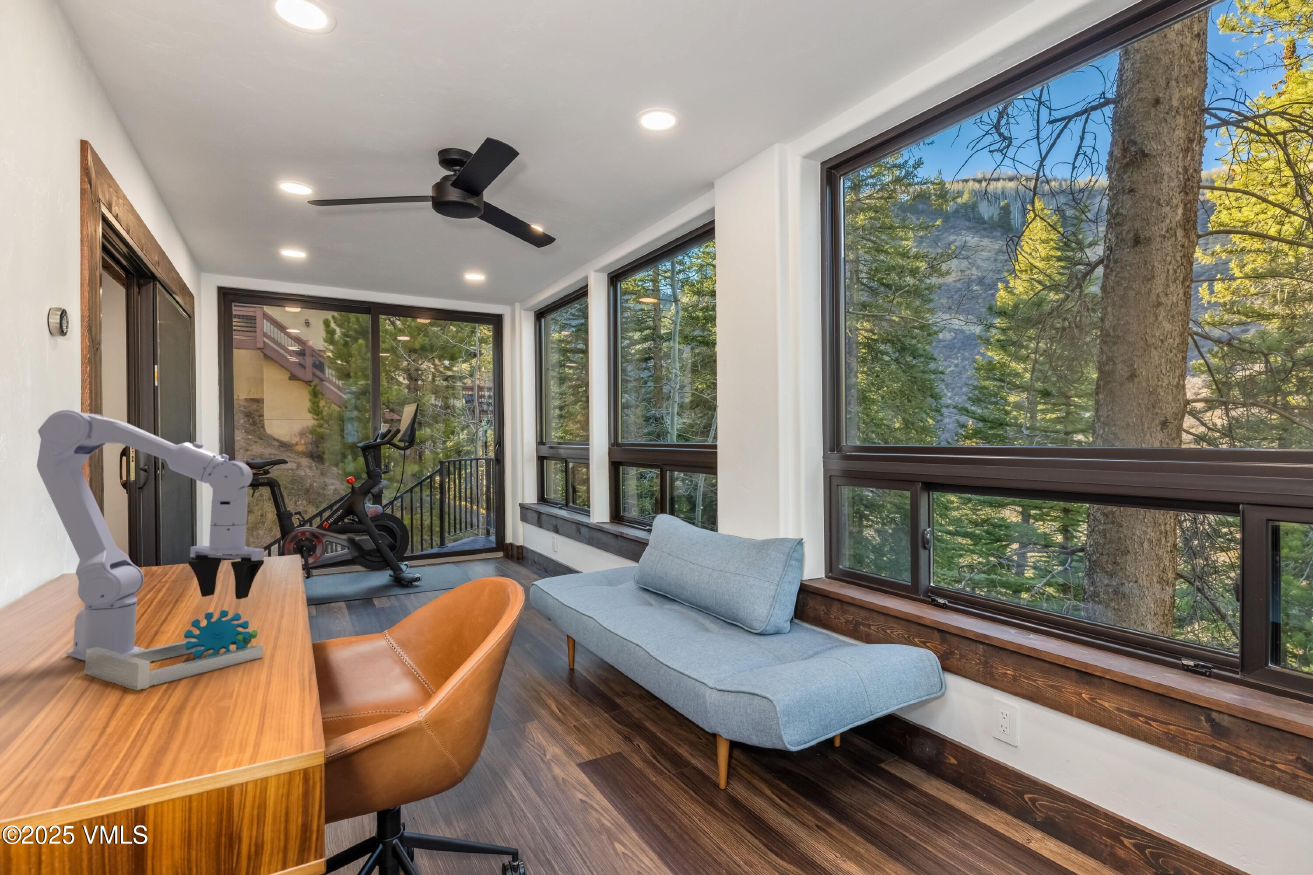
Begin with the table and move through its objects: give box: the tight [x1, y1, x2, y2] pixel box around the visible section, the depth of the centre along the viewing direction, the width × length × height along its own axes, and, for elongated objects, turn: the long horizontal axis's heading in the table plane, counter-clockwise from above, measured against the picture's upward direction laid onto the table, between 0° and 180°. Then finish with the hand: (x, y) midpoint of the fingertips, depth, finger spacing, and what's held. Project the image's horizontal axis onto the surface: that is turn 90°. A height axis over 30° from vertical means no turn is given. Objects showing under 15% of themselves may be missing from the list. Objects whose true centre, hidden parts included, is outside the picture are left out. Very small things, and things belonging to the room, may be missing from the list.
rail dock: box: [84, 638, 264, 692], centre depth 109 cm, size 16×20×4 cm
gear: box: [183, 609, 259, 660], centre depth 116 cm, size 11×6×10 cm
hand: (224, 596), depth 120 cm, fingers open, 7 cm apart
